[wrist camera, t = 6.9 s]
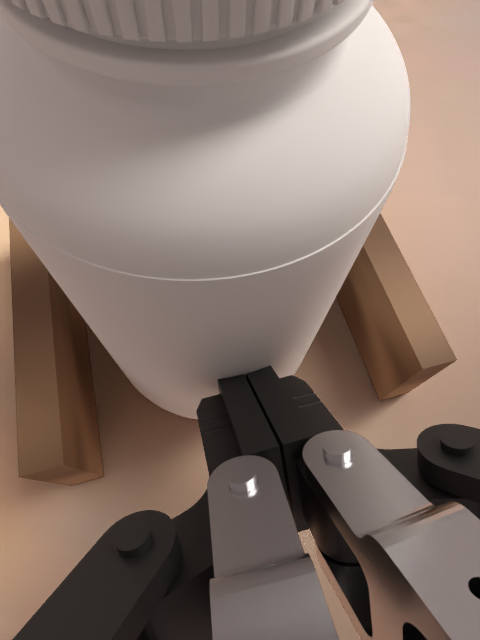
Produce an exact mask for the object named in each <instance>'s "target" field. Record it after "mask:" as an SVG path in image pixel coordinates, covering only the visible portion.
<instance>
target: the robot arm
mask: <svg viewBox="0 0 480 640" xmlns="http://www.w3.org/2000/svg"><path fill="white" fill-rule="evenodd" d="M218 389H219V393H220V394H218V395H214V396H210V397H206V398H203V399H202V400H201V402H200V404H199V406H198V408H197V410H196V412H197V417H198V422H199V427H200V432H201V437H202V441H203V446H204V451H205V456H206V461H207V466H208V471H209V480H208V484H207V490H206V491H205V493H204V495H203V496H202V497H201V499H200V500H199V501H198V502H197V503H196V504H195V505H193V506H192V507H191V508H190V509H188V510H187V511H185V512H183V513H182V514H180V515H178V516H177V517H175V518H173V519H172V520H171V518H170V517H169V516H167V515H166V514H164V513H162V512H160V511H154V510H146V511H140V512H136V513H133V514H130V515H128V516H126V517H124V518H122V519H121V520H119V521H118V522H116V523H115V524H114V525H112V526H111V527H110V528H109V529H108V530H107V531H106V532H105V533H104V534H103V536H102V537H101V538H100V539H99V540H98V541H97V543H96V544H95V545H94V546H93V547H92V548H91V549H90V551H89V552H88V553H87V554H86V555H85V556H84V558H83V559H82V560H81V561H80V562H79V563H78V565H77V566H76V567H75V568H74V569H73V570H72V571H71V573H70V574H69V575H68V576H67V577H66V578H65V580H64V581H63V582H62V583H61V584H60V585H59V587H58V588H57V589H56V590H55V591H54V592H53V593H52V595H51V596H50V597H49V598H48V599H47V600H46V602H45V603H44V604H43V605H42V606H41V607H40V609H39V610H38V611H37V612H36V613H35V614H34V615H33V617H32V618H31V619H30V620H29V621H28V622H27V624H26V625H25V626H24V627H23V628H22V629H21V631H20V632H19V633H18V634H17V635H16V636H15V637H14V639H13V640H339V638H338V635H337V632H336V629H335V626H334V623H333V621H332V618H331V615H330V612H329V609H328V606H327V603H326V600H325V597H324V594H323V591H322V588H321V585H320V582H319V579H318V576H317V573H316V571H315V568H314V565H313V562H312V560H311V558H310V556H309V554H305V553H304V550H303V547H302V544H301V541H300V538H299V535H298V532H300V531H303V530H306V529H309V528H310V531H311V533H312V535H313V537H314V539H315V544H316V551H317V557H318V561H319V563H320V565H321V567H322V569H323V571H324V573H325V574H326V576H327V578H328V580H329V582H330V584H331V585H332V587H333V589H334V591H335V593H336V595H337V597H338V598H339V600H340V602H341V604H342V606H343V608H344V609H345V611H346V613H347V615H348V617H349V619H350V621H351V622H352V624H353V626H354V628H355V630H356V632H357V634H358V635H359V637H360V639H361V640H480V429H477V428H472V427H468V426H464V425H458V424H440V425H435V426H432V427H429V428H427V429H425V430H424V431H422V432H421V433H420V435H419V436H418V439H417V448H413V449H392V450H384V449H376V448H375V447H374V446H373V445H372V444H371V443H370V442H369V441H368V440H367V439H365V438H364V437H362V436H361V435H359V434H356V433H353V432H350V431H344V430H343V429H342V427H341V426H340V425H339V424H338V422H337V421H336V420H335V419H334V417H333V416H332V415H331V413H330V412H329V411H328V410H327V408H326V407H325V406H324V405H323V403H322V402H320V399H319V398H318V397H317V396H316V394H314V392H313V391H312V389H311V388H310V387H309V385H308V384H307V383H306V382H305V381H303V380H301V379H299V378H297V377H295V376H293V375H290V376H286V377H282V378H279V377H278V375H277V374H276V372H275V371H274V369H273V368H272V366H271V365H269V366H267V367H264V368H262V369H259V370H256V371H253V372H249V373H246V377H245V375H244V374H242V375H238V376H233V377H228V378H222V379H218Z"/></svg>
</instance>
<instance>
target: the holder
mask: <svg viewBox="0 0 480 640" xmlns="http://www.w3.org/2000/svg"><path fill="white" fill-rule="evenodd" d="M9 229H10V255H11V282H12V308H13V334H14V360H15V387H16V413H17V439H18V466H19V477H21V478H27V479H34V480H40V481H46V482H52V483H58V484H64V485H75V484H78V483H82V482H85V481H89V480H93V479H96V478H100V477H104V471H103V463H102V455H101V446H100V438H99V430H98V422H97V413H96V405H95V397H94V389H93V380H92V372H91V364H90V355H89V347H88V339H87V331H86V322H85V320H84V319H83V317H82V316H81V314H80V313H79V312H78V310H77V309H76V308H75V306H74V305H73V304H72V302H71V301H70V300H69V298H68V297H67V296H66V294H65V293H64V291H63V290H62V289H61V287H60V286H59V285H58V283H57V282H56V281H55V279H54V278H53V277H52V275H51V274H50V272H49V271H48V270H47V268H46V267H45V266H44V264H43V263H42V262H41V260H40V259H39V258H38V256H37V255H36V254H35V252H34V251H33V249H32V248H31V247H30V245H29V244H28V243H27V241H26V240H25V239H24V237H23V236H22V235H21V233H20V232H19V230H18V229H17V228H16V226H15V225H14V224H13V222H12V221H11V220H10V218H9ZM336 297H337V299H338V302H339V304H340V307H341V309H342V311H343V314H344V316H345V318H346V321H347V323H348V326H349V328H350V330H351V333H352V335H353V337H354V340H355V342H356V345H357V347H358V349H359V352H360V354H361V357H362V359H363V361H364V364H365V366H366V368H367V371H368V373H369V376H370V378H371V380H372V383H373V385H374V388H375V390H376V392H377V395H378V397H379V399H380V400H384V399H388V398H391V397H395V396H398V395H402V394H406V393H408V392H410V391H411V390H413V389H414V388H416V387H417V386H419V385H420V384H422V383H423V382H425V381H426V380H428V379H429V378H431V377H432V376H434V375H435V374H437V373H438V372H440V371H441V370H443V369H444V368H446V367H447V366H449V365H450V364H452V363H453V362H455V361H456V360H457V359H456V357H455V355H454V353H453V351H452V349H451V347H450V346H449V344H448V342H447V340H446V338H445V336H444V334H443V332H442V330H441V328H440V326H439V324H438V323H437V321H436V319H435V317H434V315H433V313H432V311H431V309H430V307H429V305H428V303H427V302H426V300H425V298H424V296H423V294H422V292H421V290H420V288H419V286H418V284H417V282H416V280H415V279H414V277H413V275H412V273H411V271H410V269H409V267H408V265H407V263H406V261H405V259H404V257H403V256H402V254H401V252H400V250H399V248H398V246H397V244H396V242H395V240H394V238H393V236H392V235H391V233H390V231H389V229H388V227H387V225H386V223H385V221H384V219H383V217H382V215H381V213H380V214H379V216H378V218H377V220H376V222H375V223H374V225H373V227H372V229H371V231H370V233H369V235H368V237H367V239H366V241H365V243H364V244H363V246H362V248H361V250H360V252H359V254H358V256H357V258H356V260H355V262H354V263H353V265H352V267H351V269H350V271H349V273H348V275H347V277H346V279H345V281H344V283H343V284H342V286H341V288H340V290H339V292H338V294H337V296H336Z"/></svg>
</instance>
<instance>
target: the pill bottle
mask: <svg viewBox="0 0 480 640" xmlns="http://www.w3.org/2000/svg"><path fill="white" fill-rule="evenodd" d="M373 1H374V0H0V205H1V206H2V208H3V209H4V211H5V212H6V214H7V215H8V217H9V218H10V220H11V221H12V222H13V224H14V225H15V226H16V228H17V229H18V230H19V232H20V233H21V235H22V236H23V237H24V239H25V240H26V241H27V243H28V244H29V245H30V247H31V248H32V249H33V251H34V252H35V254H36V255H37V256H38V258H39V259H40V260H41V262H42V263H43V264H44V266H45V267H46V268H47V270H48V271H49V272H50V274H51V275H52V277H53V278H54V279H55V281H56V282H57V283H58V285H59V286H60V287H61V289H62V290H63V291H64V293H65V294H66V296H67V297H68V298H69V300H70V301H71V302H72V304H73V305H74V306H75V308H76V309H77V310H78V312H79V313H80V314H81V316H82V317H83V319H84V320H85V321H86V323H87V324H88V325H89V327H90V328H91V329H92V331H93V332H94V333H95V335H96V336H97V338H98V339H99V340H100V342H101V343H102V344H103V346H104V347H105V348H106V350H107V351H108V352H109V354H110V355H111V356H112V358H113V359H114V361H115V362H116V363H117V365H118V366H119V367H120V369H121V370H122V371H123V373H124V374H125V375H126V377H127V378H128V379H129V381H130V382H131V383H132V385H133V386H134V387H135V388H136V389H137V390H138V391H139V392H140V393H141V394H142V395H144V396H145V397H146V398H147V399H149V400H150V401H151V402H153V403H154V404H156V405H158V406H159V407H161V408H163V409H165V410H167V411H169V412H171V413H174V414H176V415H179V416H183V417H186V418H191V419H197V420H198V417H197V412H196V410H197V408H198V406H199V404H200V402H201V400H202V399H203V398H206V397H210V396H214V395H218V394H220V393H219V389H218V379H222V378H228V377H233V376H238V375H242V374H244V375H245V377H246V373H249V372H253V371H256V370H259V369H262V368H264V367H267V366H269V365H271V366H272V368H273V369H274V371H275V372H276V374H277V375H278V377H279V378H282V377H286V376H290V375H293V376H294V375H295V373H296V372H297V370H298V368H299V366H300V365H301V363H302V361H303V359H304V357H305V355H306V353H307V351H308V349H309V347H310V345H311V344H312V342H313V340H314V338H315V336H316V334H317V332H318V330H319V328H320V326H321V325H322V323H323V321H324V319H325V317H326V315H327V313H328V311H329V309H330V307H331V305H332V304H333V302H334V300H335V298H336V296H337V294H338V292H339V290H340V288H341V286H342V284H343V283H344V281H345V279H346V277H347V275H348V273H349V271H350V269H351V267H352V265H353V263H354V262H355V260H356V258H357V256H358V254H359V252H360V250H361V248H362V246H363V244H364V243H365V241H366V239H367V237H368V235H369V233H370V231H371V229H372V227H373V225H374V223H375V222H376V220H377V218H378V216H379V214H380V212H381V210H382V208H383V206H384V204H385V202H386V200H387V198H388V196H389V194H390V192H391V190H392V188H393V186H394V183H395V181H396V179H397V176H398V174H399V171H400V169H401V166H402V163H403V160H404V156H405V151H406V146H407V136H408V130H409V121H410V90H409V82H408V76H407V71H406V67H405V64H404V60H403V57H402V55H401V52H400V49H399V47H398V45H397V43H396V41H395V38H394V37H393V35H392V33H391V31H390V29H389V28H388V26H387V25H386V23H385V22H384V20H383V19H382V17H381V16H380V14H379V13H378V12H377V11H376V9H375V8H374V7H373V6H372V3H373Z"/></svg>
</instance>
